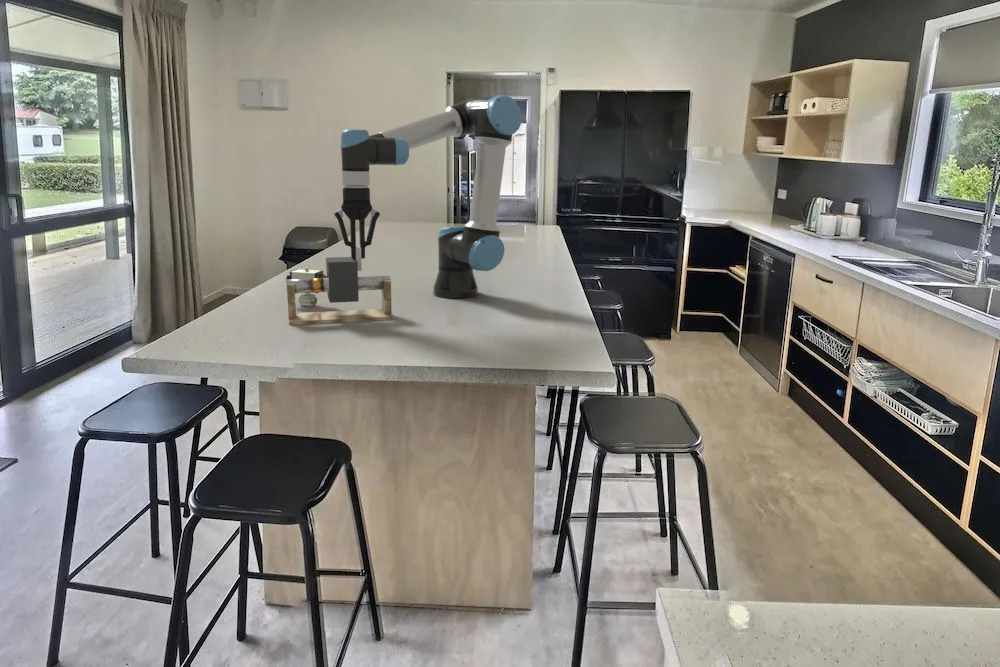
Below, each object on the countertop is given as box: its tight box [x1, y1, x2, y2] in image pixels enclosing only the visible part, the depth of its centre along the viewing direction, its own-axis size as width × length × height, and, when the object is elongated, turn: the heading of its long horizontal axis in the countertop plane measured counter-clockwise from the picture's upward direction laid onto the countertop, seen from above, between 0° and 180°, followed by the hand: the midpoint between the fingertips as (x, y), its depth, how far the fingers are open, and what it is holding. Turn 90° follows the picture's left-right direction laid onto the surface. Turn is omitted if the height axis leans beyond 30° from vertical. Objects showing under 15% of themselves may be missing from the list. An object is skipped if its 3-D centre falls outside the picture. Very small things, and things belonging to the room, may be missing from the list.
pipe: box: [285, 275, 391, 294], centre depth 205 cm, size 29×4×4 cm, turn 107°
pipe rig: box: [286, 279, 394, 326], centre depth 207 cm, size 29×10×11 cm, turn 107°
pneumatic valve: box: [285, 267, 327, 308], centre depth 222 cm, size 6×12×12 cm, turn 78°
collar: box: [325, 256, 360, 304], centre depth 205 cm, size 8×9×12 cm
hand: (358, 269), depth 206 cm, fingers closed
